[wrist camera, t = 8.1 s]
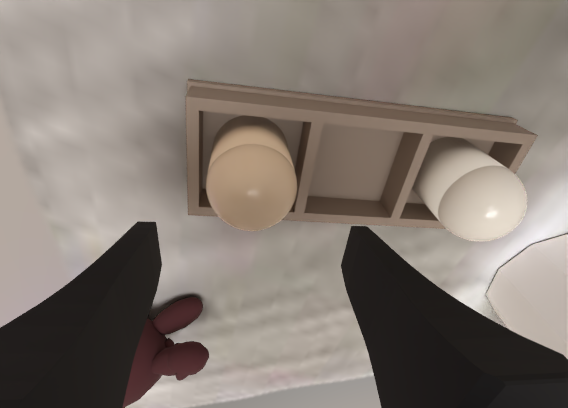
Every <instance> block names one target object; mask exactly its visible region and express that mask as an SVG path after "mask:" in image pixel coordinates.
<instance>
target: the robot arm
mask: <svg viewBox="0 0 568 408" xmlns="http://www.w3.org/2000/svg"><path fill="white" fill-rule="evenodd" d="M161 266H162V262H161V255H160V248H159V241H158V233H157V226H156V222H137V223H136V224H135V225H134V226H133V227H132V228H130V229H129V230H128V231H127V232H126V233H125V234H124V235H123V236H122V237H121V238H120V239H119V240H118V241H117V242H116V243H115V244H114V245H113V246H112V247H111V248H109V249H108V250H107V251H106V252H105V253H104V254H103V255H102V256H101V257H100V258H98V259H97V260H96V261H95V262H94V263H93V264H92V265H90V266H89V267H88V268H87V269H86V270H84V271H83V272H82V273H81V274H80V275H78V276H77V277H76V278H75V279H73V280H72V281H71V282H70V283H68V284H67V285H66V286H65V287H63V288H62V289H60V290H59V291H57V292H56V293H54V294H53V295H52V296H50V297H49V298H47V299H46V300H44V301H43V302H42V303H40V304H38V305H37V306H36V307H34V308H32V309H30V310H29V311H27V312H26V313H24V314H22V315H21V316H19V317H17V318H16V319H14V320H13V321H11V322H9V323H8V324H6V325H4V326H3V327H1V328H0V408H123V403H124V399H125V394H126V389H127V385H128V381H129V377H130V372H131V368H132V364H133V360H134V356H135V353H136V350H137V347H138V344H139V341H140V338H141V335H142V332H143V329H144V326H145V323H146V320H147V318H148V315H149V312H150V309H151V306H152V303H153V300H154V297H155V294H156V291H157V286H158V282H159V277H160V272H161ZM341 268H342V273H343V278H344V282H345V287H346V290H347V293H348V296H349V299H350V302H351V304H352V307H353V310H354V313H355V315H356V318H357V321H358V324H359V326H360V329H361V332H362V335H363V337H364V340H365V343H366V346H367V350H368V353H369V357H370V361H371V365H372V369H373V373H374V376H375V380H376V385H377V390H378V394H379V398H380V402H381V407H382V408H568V359H567V358H566V357H565V356H564V355H563V354H561V353H559V352H556V351H554V350H552V349H550V348H548V347H545V346H543V345H541V344H539V343H536V342H534V341H532V340H530V339H527V338H525V337H523V336H521V335H519V334H517V333H515V332H513V331H511V330H509V329H507V328H505V327H503V326H501V325H499V324H497V323H496V322H494V321H492V320H490V319H488V318H486V317H485V316H483V315H481V314H480V313H478V312H476V311H475V310H473V309H471V308H469V307H468V306H466V305H464V304H463V303H461V302H460V301H458V300H457V299H455V298H454V297H452V296H451V295H449V294H448V293H446V292H445V291H443V290H442V289H440V288H439V287H438V286H436V285H435V284H433V283H432V282H431V281H429V280H428V279H427V278H426V277H424V276H423V275H422V274H421V273H419V272H418V271H417V270H416V269H414V268H413V267H412V266H411V265H410V264H408V263H407V262H406V261H405V260H404V259H403V258H401V257H400V256H399V255H398V254H397V253H396V252H395V251H394V250H392V249H391V248H390V247H389V246H388V245H387V244H386V243H385V242H384V241H383V240H381V239H380V238H379V237H378V236H377V235H376V234H375V233H374V232H373V231H372V230H370V229H369V228H368V227H367V226H351V230H350V234H349V237H348V241H347V245H346V249H345V252H344V256H343V260H342V264H341Z"/></svg>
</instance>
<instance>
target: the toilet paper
mask: <svg viewBox="0 0 568 408" xmlns="http://www.w3.org/2000/svg"><path fill="white" fill-rule="evenodd" d="M486 296H487V297H488V299H489V301H490V303H491V305H492V307H493V308H494V310H495V312H496V313H497V314H498V316H499V317H500V318H501V320H502V321H503V322H504V323H505V325H506V326H507V327H508V329H509V330H511V331H513V332H515V333H517V334H519V335H521V336H523V337H525V338H527V339H530V340H532V341H534V342H536V343H539V344H541V345H543V346H545V347H548V348H550V349H552V350H554V351H556V352H559V353H561V354H563V355H564V356H565V357H566V358H567V359H568V234H566V235H562V236H559V237H556V238H552V239H549V240H546V241H542V242H539V243H535V244H532V245H531V246H529V247H528V248H527V249H525V250H524V251H523V252H521V253H520V254H518V255H517V256H516V257H514V258H513V259H512V260H510V261H509V262H508V263H506V264H505V265H504V266H502V267H501V268H500V269H499V270H498V272H497V274H496V276H495V278H494V280H493V281H492V283H491V285H490V287H489V289H488V291H487V293H486Z"/></svg>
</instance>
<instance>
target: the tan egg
mask: <svg viewBox="0 0 568 408" xmlns="http://www.w3.org/2000/svg"><path fill="white" fill-rule="evenodd" d="M206 191H207V196H208V200H209V202H210V205H211V207H212V209H213V210H214V212H215V213H216V214H217V215H218V216H219V218H221V219H222V220H223V221H224V222H225V223H227V224H229V225H230V226H232V227H235V228H237V229H240V230H245V231H258V230H263V229H267V228H269V227H271V226H273V225H275V224H277V223H278V222H280V221H281V220H282V219H283V218H284V217H285V216H286V215H287V214H288V212H289V211H290V209H291V208H292V206H293V203H294V201H295V198H296V193H297V178H296V174H295V170H294V166H293V163H292V159H291V156H290V152H289V148H288V145H287V141H286V138H285V136H284V134H283V132H282V131H281V129H280V128H279V127H278V126H277V125H276V124H275V123H273V122H272V121H270V120H269V119H267V118H264V117H256V116H247V115H242V116H238V117H235V118H233V119H231V120H229V121H228V122H226V123H225V124H224V125H223V126H222V127H221V128H220V129H219V131H218V132H217V134H216V136H215V138H214V142H213V147H212V152H211V158H210V163H209V168H208V174H207V179H206Z"/></svg>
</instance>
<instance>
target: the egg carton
mask: <svg viewBox="0 0 568 408" xmlns="http://www.w3.org/2000/svg"><path fill="white" fill-rule="evenodd" d="M185 97H186V144H187V190H188V215H198V216H217V217H219V216H218V215H217V214H216V213H215V212H214V210H213V209H212V207H211V205H210V202H209V200H208V196H207V191H206V179H207V174H208V168H209V163H210V158H211V152H212V147H213V142H214V138H215V136H216V134H217V132H218V131H219V129H220V128H221V127H222V126H223V125H224V124H225V123H226V122H228V121H229V120H231V119H233V118H235V117H238V116H242V115H247V116H256V117H264V118H267V119H269V120H270V121H272V122H273V123H275V124H276V125H277V126H278V127H279V128H280V129H281V131H282V132H283V134H284V136H285V138H286V141H287V145H288V148H289V152H290V156H291V159H292V163H293V166H294V170H295V174H296V178H297V193H296V198H295V201H294V203H293V206H292V208H291V209H290V211H289V212H288V214H287V215H286V216H285V217H284V218H283V219H282V220H291V221H310V222H329V223H347V224H366V225H385V226H403V227H422V228H441V229H446V228H445V227H444V226H443V225H442V224H441V222H440V221H439V220H438V219H437V218H436V217H435V215H434V214H433V213H432V212H431V211H430V209H429V208H428V207H427V206H426V205H425V203H424V202H423V201H422V200H421V199H420V198H419V196H418V195H417V194H416V193H415V192H414V190H413V189H412V187H413V184H414V182H415V179H416V177H417V174H418V172H419V169H420V167H421V164H422V162H423V159H424V157H425V154H426V152H427V150H428V147H429V145H430V143H431V142H432V141H435V140H437V139H439V138H443V137H457V138H463V139H465V140H467V141H468V142H470V143H471V144H473V145H474V146H476V147H477V148H478V149H480V150H481V151H483V152H484V153H486V154H487V155H489V156H490V157H492V158H493V159H495V160H496V161H498V162H499V163H500V164H502V165H503V166H505V167H506V168H508V169H509V170H511V171H512V172H513V173H514V174H515V173H516V171H517V170H518V168H519V166H520V165H521V163H522V161H523V160H524V158H525V156H526V154H527V153H528V151H529V149H530V148H531V146H532V144H533V142H534V141H535V139H536V137H537V136H538V135H536V134H534V133H532V132H530V131H528V130H526V129H524V128H522V127H520V126H518V125H516V123H517V121H518V120H516V119H514V118H511V117H502V116H494V115H486V114H477V113H469V112H460V111H452V110H444V109H435V108H427V107H418V106H410V105H402V104H393V103H385V102H376V101H368V100H360V99H351V98H343V97H334V96H326V95H318V94H309V93H301V92H292V91H284V90H275V89H267V88H259V87H250V86H242V85H233V84H225V83H217V82H208V81H200V80H191V79H188V81H187V95H186V96H185Z"/></svg>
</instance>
